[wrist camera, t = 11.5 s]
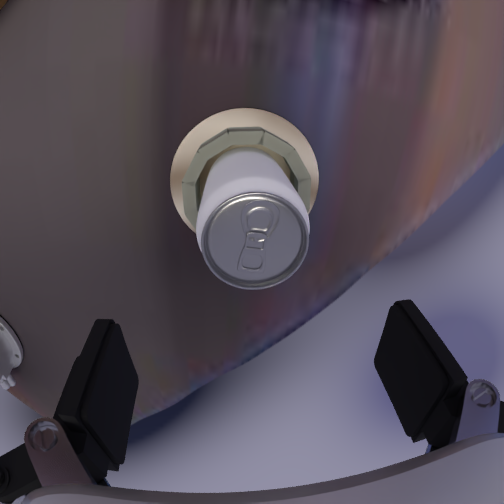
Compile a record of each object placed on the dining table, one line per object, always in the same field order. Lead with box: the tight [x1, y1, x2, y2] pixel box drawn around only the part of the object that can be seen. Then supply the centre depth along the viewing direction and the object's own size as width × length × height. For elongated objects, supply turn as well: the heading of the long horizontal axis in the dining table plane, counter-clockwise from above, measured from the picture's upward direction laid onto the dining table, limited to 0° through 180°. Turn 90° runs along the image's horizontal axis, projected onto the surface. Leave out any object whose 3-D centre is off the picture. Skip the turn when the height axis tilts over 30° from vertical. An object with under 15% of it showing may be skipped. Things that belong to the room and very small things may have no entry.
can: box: [196, 147, 310, 290], centre depth 22 cm, size 6×6×12 cm
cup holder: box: [170, 108, 319, 233], centre depth 26 cm, size 13×13×4 cm
